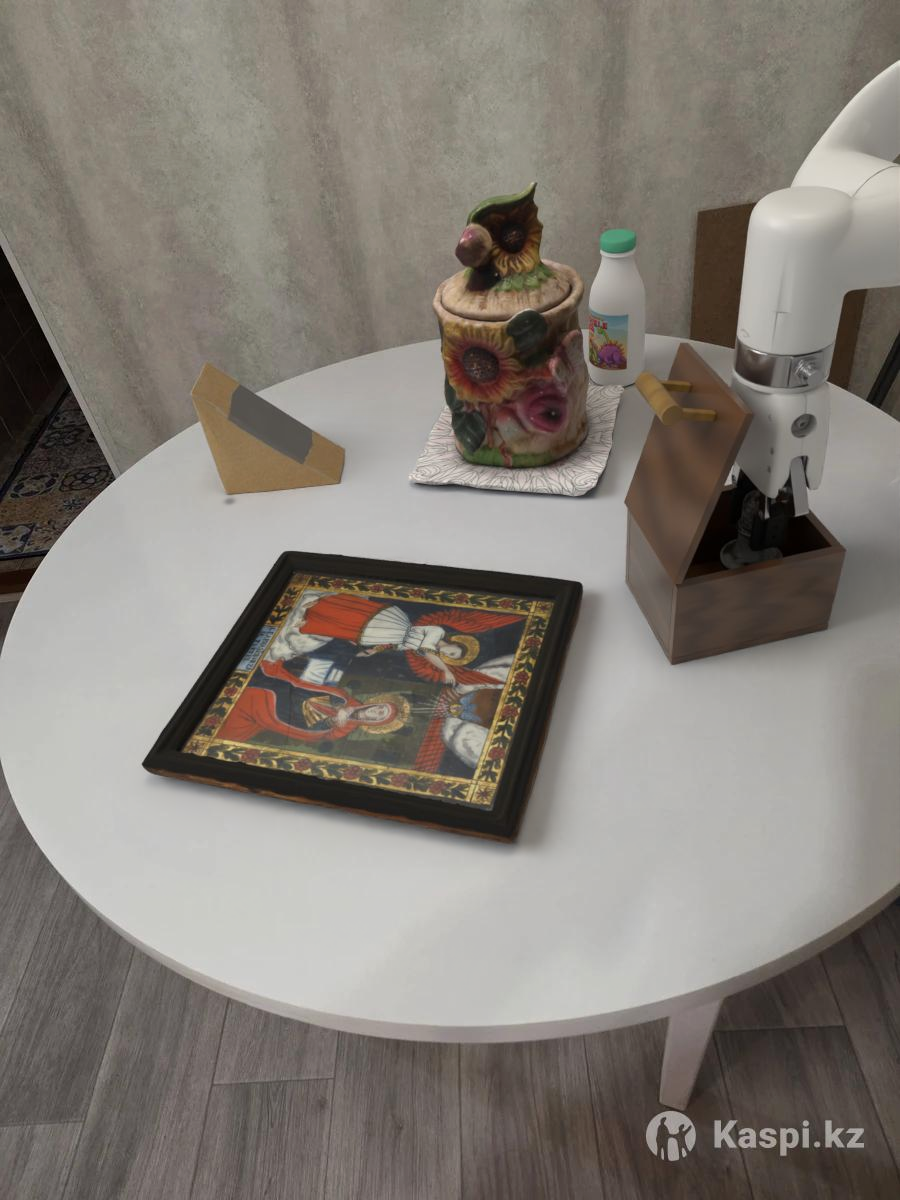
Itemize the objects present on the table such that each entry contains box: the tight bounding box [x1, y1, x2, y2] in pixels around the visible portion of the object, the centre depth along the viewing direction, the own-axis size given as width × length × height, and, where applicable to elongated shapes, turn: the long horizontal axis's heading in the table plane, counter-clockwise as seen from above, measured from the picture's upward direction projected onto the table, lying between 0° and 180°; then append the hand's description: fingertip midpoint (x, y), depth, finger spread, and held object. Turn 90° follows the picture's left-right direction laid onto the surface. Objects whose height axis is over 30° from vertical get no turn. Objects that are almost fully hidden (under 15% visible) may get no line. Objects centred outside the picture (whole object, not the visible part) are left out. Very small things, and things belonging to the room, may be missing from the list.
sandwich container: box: [190, 361, 345, 495], centre depth 111 cm, size 9×15×15 cm, turn 90°
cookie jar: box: [408, 181, 624, 497], centre depth 104 cm, size 25×25×32 cm
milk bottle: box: [588, 228, 647, 387], centre depth 118 cm, size 8×8×20 cm
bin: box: [624, 483, 847, 666], centre depth 85 cm, size 16×13×10 cm
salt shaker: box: [720, 489, 783, 570], centre depth 83 cm, size 6×6×12 cm
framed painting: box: [141, 550, 584, 844], centre depth 84 cm, size 38×35×3 cm
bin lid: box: [623, 342, 755, 584], centre depth 75 cm, size 17×13×6 cm
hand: (755, 531), depth 82 cm, fingers closed on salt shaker, 3 cm apart
